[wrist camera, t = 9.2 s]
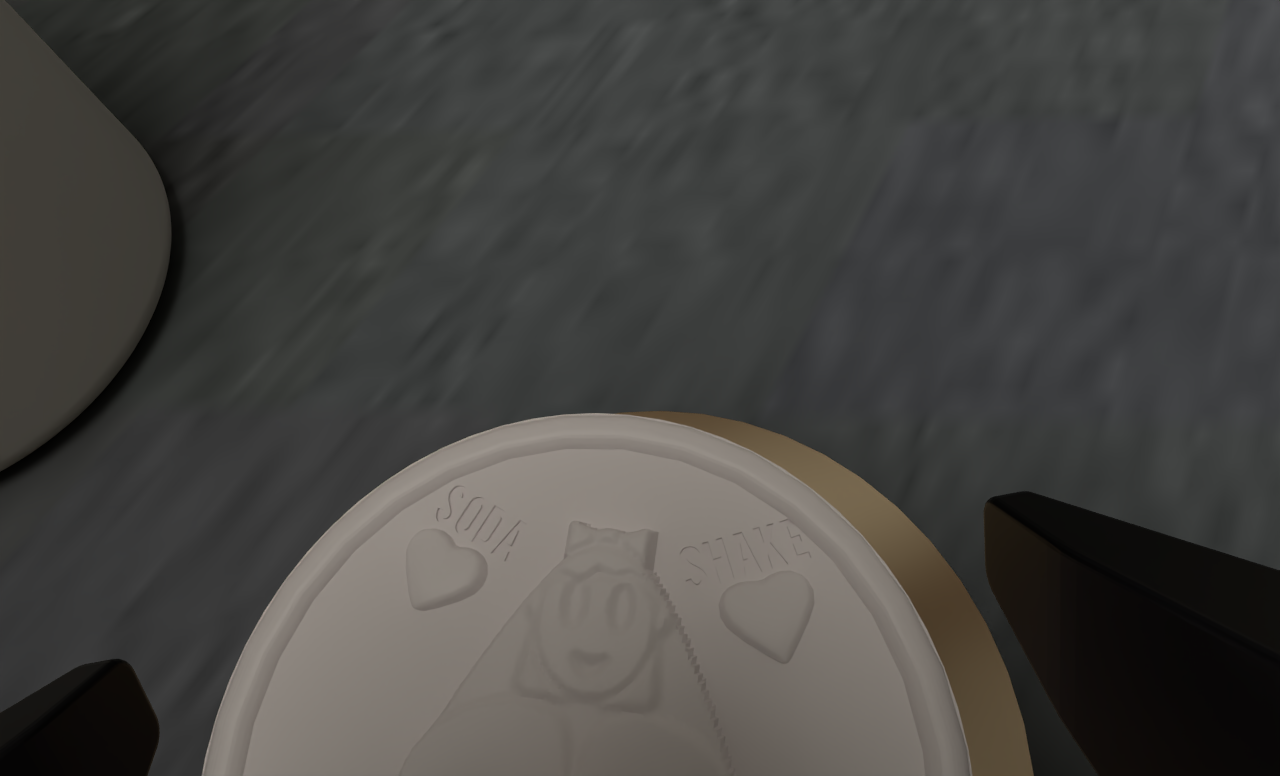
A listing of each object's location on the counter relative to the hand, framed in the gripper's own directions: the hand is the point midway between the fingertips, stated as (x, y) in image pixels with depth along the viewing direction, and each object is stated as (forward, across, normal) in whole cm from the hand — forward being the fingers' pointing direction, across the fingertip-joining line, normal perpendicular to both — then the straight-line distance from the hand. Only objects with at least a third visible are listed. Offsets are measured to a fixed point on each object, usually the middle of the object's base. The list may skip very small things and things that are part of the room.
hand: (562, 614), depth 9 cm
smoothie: (+5, 0, +7) cm, 9 cm away
